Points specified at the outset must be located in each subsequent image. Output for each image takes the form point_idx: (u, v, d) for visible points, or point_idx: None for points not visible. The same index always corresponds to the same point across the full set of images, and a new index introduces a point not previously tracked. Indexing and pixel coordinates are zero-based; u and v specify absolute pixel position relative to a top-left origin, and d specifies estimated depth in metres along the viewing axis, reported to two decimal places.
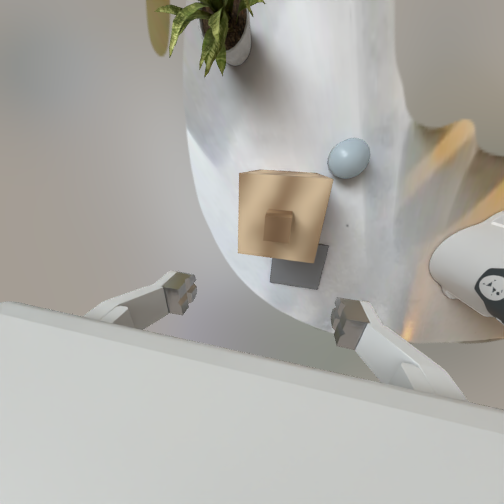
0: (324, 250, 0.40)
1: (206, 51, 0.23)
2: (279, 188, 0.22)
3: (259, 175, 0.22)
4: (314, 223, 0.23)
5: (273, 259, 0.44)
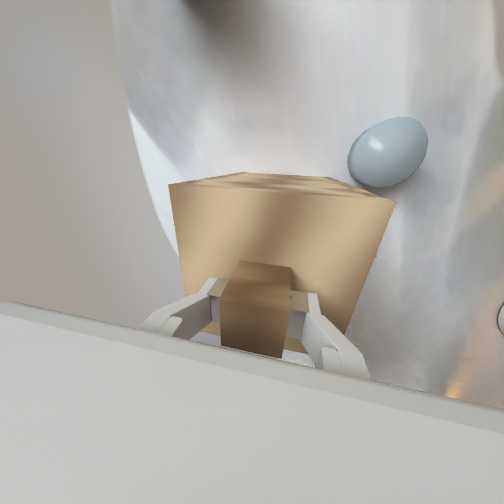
0: None
1: None
2: (260, 219, 0.09)
3: (213, 190, 0.09)
4: (339, 293, 0.10)
5: None
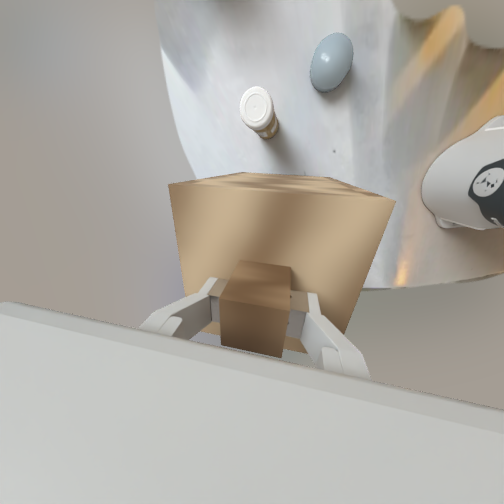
0: None
1: None
2: (260, 219, 0.09)
3: (213, 189, 0.09)
4: (339, 293, 0.10)
5: None
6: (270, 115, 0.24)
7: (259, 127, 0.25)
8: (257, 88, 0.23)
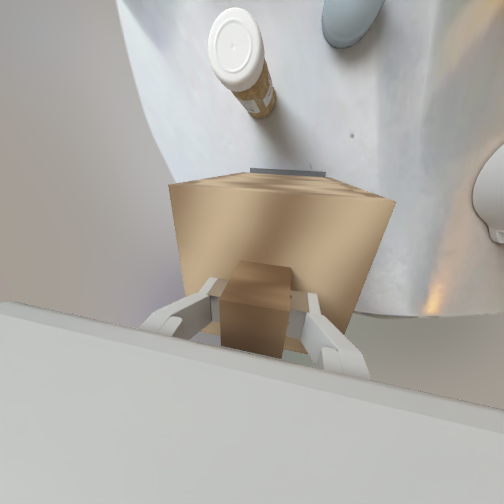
0: None
1: None
2: (260, 220, 0.09)
3: (213, 190, 0.09)
4: (339, 293, 0.10)
5: None
6: (258, 61, 0.15)
7: (240, 83, 0.16)
8: (235, 10, 0.14)
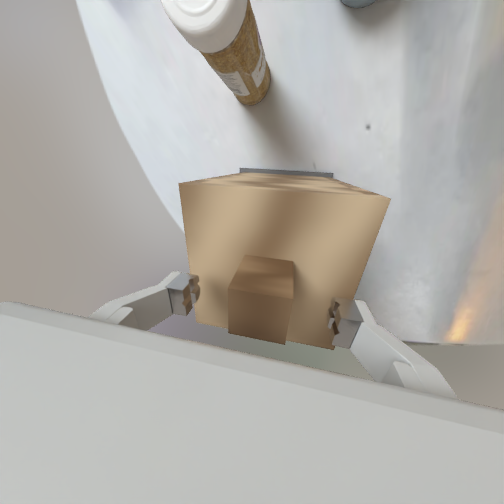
0: None
1: None
2: (265, 216, 0.10)
3: (220, 188, 0.10)
4: (339, 285, 0.11)
5: None
6: None
7: (210, 35, 0.10)
8: None
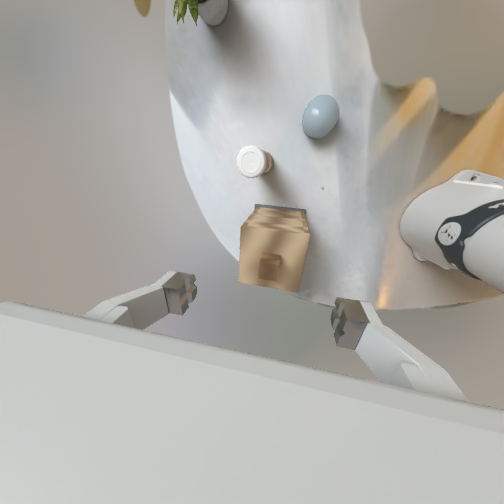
0: None
1: None
2: (270, 239, 0.29)
3: (255, 229, 0.29)
4: (297, 264, 0.30)
5: None
6: (263, 168, 0.28)
7: (253, 177, 0.29)
8: (252, 147, 0.27)
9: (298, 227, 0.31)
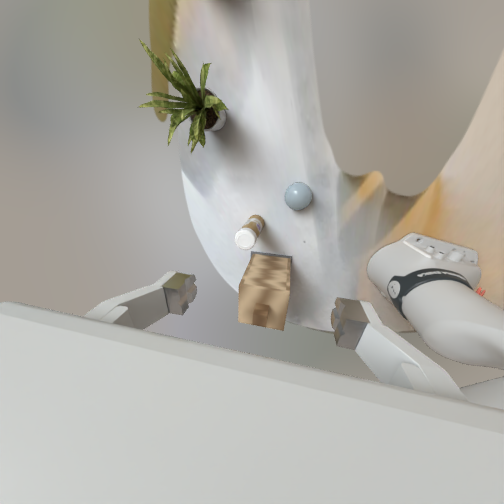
0: None
1: (192, 135, 0.34)
2: (261, 294, 0.39)
3: (250, 287, 0.39)
4: (281, 311, 0.40)
5: None
6: (254, 244, 0.38)
7: None
8: (245, 231, 0.37)
9: (282, 282, 0.41)
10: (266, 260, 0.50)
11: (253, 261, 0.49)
